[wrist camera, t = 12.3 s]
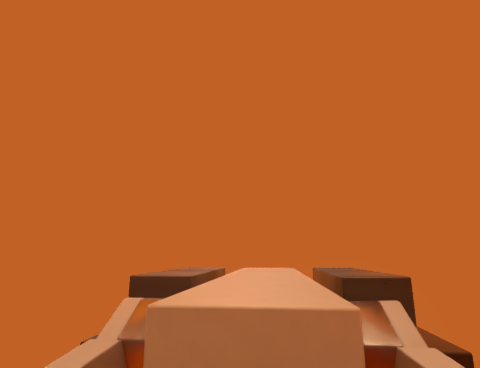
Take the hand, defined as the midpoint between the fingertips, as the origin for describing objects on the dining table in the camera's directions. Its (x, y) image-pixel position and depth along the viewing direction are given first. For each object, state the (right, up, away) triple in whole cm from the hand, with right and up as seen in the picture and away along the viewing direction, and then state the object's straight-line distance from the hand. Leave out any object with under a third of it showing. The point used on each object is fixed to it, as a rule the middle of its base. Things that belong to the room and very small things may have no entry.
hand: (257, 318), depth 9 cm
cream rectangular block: (+1, -3, +6) cm, 7 cm away
